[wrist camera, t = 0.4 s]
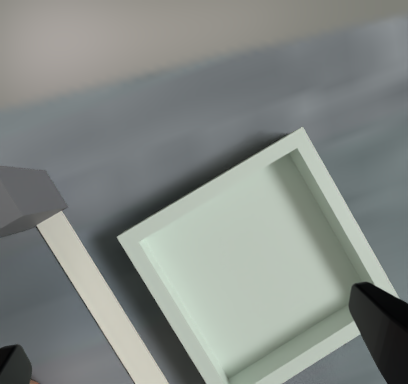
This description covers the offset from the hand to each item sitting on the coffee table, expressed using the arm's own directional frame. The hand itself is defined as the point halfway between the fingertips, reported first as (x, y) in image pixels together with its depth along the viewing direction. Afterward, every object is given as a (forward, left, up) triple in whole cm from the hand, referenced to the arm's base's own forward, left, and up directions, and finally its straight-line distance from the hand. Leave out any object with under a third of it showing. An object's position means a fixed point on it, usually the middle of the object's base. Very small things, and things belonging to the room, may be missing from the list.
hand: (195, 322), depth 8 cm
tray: (-4, -3, -14) cm, 15 cm away
